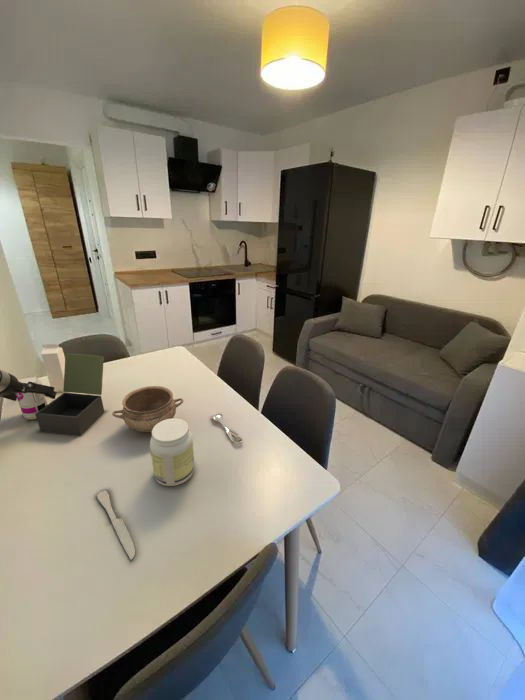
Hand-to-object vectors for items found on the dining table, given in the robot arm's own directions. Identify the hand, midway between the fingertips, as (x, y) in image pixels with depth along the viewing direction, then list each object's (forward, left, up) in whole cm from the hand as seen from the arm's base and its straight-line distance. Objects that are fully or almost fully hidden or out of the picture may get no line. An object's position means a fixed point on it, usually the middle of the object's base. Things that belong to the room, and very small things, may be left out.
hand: (35, 396), depth 114 cm
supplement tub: (+64, -23, -7) cm, 69 cm away
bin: (+17, -4, -7) cm, 19 cm away
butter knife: (+55, -41, -7) cm, 69 cm away
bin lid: (+17, +6, +9) cm, 20 cm away
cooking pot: (+47, -2, -7) cm, 48 cm away
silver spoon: (+76, -1, -7) cm, 77 cm away
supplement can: (0, -2, -7) cm, 7 cm away
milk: (-4, +17, -7) cm, 19 cm away
